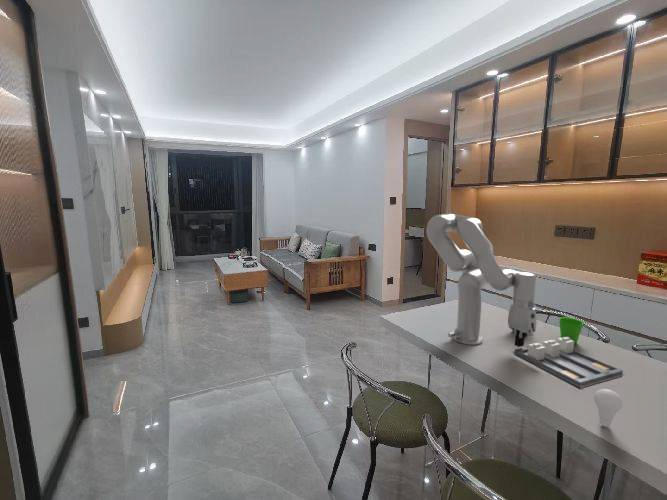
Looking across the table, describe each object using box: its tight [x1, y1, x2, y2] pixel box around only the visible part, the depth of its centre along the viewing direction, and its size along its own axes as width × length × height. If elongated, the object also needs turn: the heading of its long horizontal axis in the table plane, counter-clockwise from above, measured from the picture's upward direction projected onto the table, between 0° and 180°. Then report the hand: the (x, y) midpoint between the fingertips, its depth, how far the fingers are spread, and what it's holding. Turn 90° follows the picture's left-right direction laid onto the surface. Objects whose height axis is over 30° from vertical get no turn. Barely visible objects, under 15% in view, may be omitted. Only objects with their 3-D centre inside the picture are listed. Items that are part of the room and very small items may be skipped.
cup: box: [558, 316, 585, 345], centre depth 145 cm, size 9×9×11 cm
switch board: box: [513, 343, 624, 390], centre depth 128 cm, size 22×26×2 cm
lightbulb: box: [593, 388, 623, 428], centre depth 94 cm, size 6×6×11 cm
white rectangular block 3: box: [556, 337, 575, 354], centre depth 136 cm, size 4×4×6 cm
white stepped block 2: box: [542, 339, 560, 357], centre depth 133 cm, size 4×4×6 cm
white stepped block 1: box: [527, 342, 545, 360], centre depth 131 cm, size 4×4×6 cm
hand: (519, 345), depth 138 cm, fingers closed
